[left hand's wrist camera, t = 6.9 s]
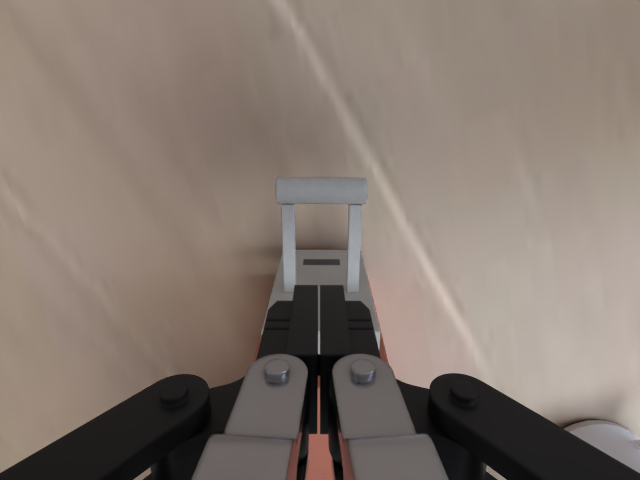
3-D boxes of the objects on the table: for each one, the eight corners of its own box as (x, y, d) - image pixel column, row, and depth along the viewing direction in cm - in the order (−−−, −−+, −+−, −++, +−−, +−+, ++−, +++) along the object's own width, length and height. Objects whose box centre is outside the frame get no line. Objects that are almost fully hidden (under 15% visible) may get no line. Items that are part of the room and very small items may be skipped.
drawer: (279, 158, 24) (253, 197, 15) (364, 158, 24) (389, 198, 15) (288, 434, 31) (274, 569, 22) (353, 434, 31) (365, 570, 22)
